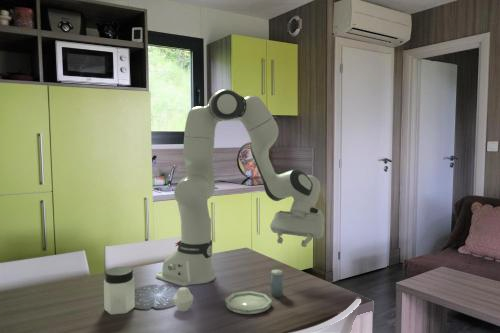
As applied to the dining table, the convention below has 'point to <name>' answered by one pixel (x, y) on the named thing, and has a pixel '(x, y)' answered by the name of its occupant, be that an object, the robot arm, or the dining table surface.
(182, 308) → the muffin
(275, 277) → the ball
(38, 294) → the dining table surface
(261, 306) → the plate
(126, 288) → the jar
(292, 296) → the dining table surface
